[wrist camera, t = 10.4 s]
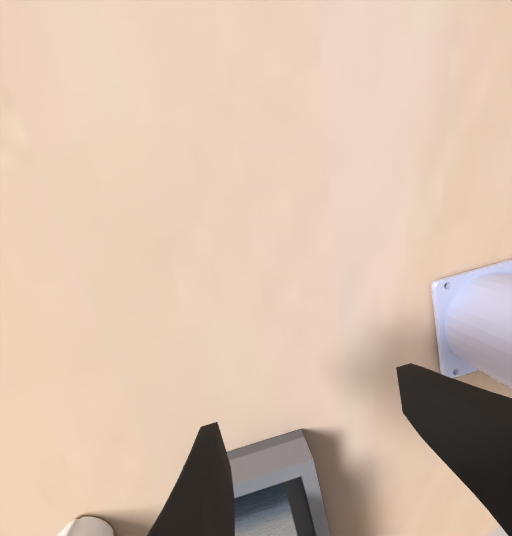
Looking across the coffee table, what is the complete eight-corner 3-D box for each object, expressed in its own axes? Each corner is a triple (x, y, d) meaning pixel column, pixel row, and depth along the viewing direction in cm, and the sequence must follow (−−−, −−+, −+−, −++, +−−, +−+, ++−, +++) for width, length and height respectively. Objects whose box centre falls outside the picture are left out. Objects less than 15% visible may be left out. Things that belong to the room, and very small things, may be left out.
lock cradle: (301, 428, 22) (313, 458, 19) (330, 553, 25) (344, 595, 22) (183, 465, 21) (178, 502, 19) (226, 590, 24) (227, 638, 21)
